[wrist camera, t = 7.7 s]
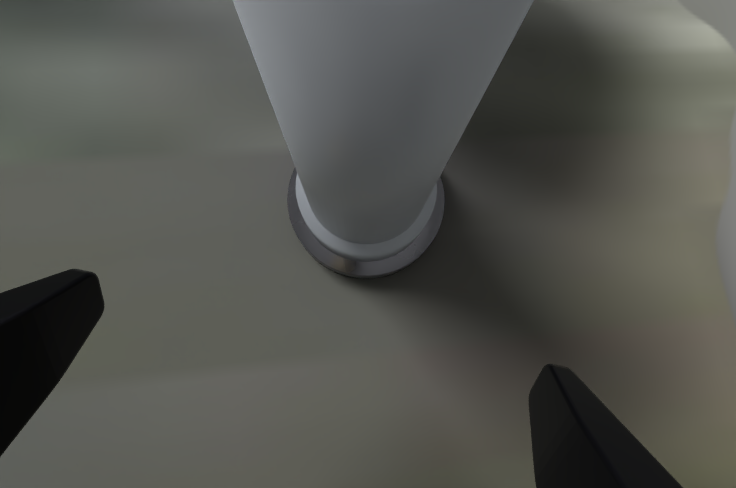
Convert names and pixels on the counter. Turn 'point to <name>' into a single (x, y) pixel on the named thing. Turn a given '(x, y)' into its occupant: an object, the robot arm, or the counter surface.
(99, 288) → the robot arm
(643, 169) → the counter surface
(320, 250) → the dark grey metal disc
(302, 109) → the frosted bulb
